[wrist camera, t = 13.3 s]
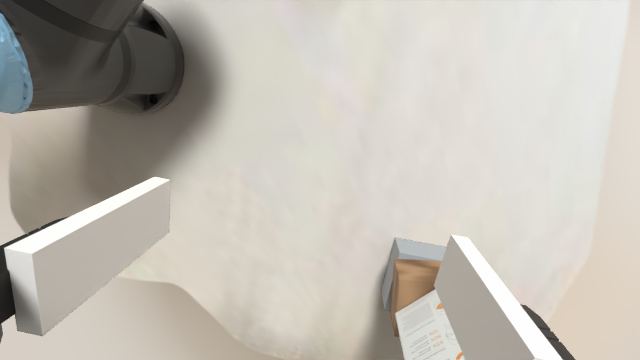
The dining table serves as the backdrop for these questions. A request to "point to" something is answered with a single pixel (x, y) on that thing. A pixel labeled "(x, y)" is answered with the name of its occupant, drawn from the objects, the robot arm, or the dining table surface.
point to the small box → (427, 331)
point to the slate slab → (411, 252)
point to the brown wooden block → (411, 283)
